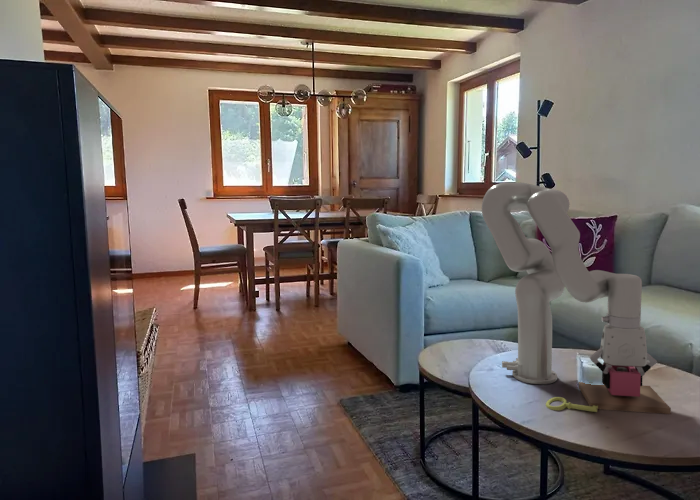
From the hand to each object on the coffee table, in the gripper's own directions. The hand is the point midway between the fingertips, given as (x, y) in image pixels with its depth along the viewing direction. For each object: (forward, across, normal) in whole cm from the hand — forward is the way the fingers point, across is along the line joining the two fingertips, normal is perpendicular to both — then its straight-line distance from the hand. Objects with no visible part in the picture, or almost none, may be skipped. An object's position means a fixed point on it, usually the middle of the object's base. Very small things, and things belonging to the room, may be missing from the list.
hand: (621, 386), depth 126 cm
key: (+4, -14, -7) cm, 16 cm away
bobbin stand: (+4, 0, 0) cm, 4 cm away
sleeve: (+1, 0, 0) cm, 1 cm away
